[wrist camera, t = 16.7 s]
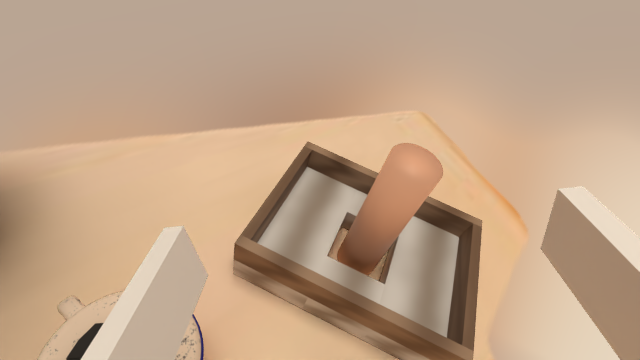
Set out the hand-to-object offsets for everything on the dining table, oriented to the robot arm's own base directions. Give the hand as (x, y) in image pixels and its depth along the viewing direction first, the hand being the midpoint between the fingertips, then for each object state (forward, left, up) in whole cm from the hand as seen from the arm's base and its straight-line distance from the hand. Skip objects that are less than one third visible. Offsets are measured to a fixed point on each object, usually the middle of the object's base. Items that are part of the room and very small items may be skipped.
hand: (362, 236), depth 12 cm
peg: (+3, +14, -23) cm, 27 cm away
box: (+3, +14, -23) cm, 27 cm away
